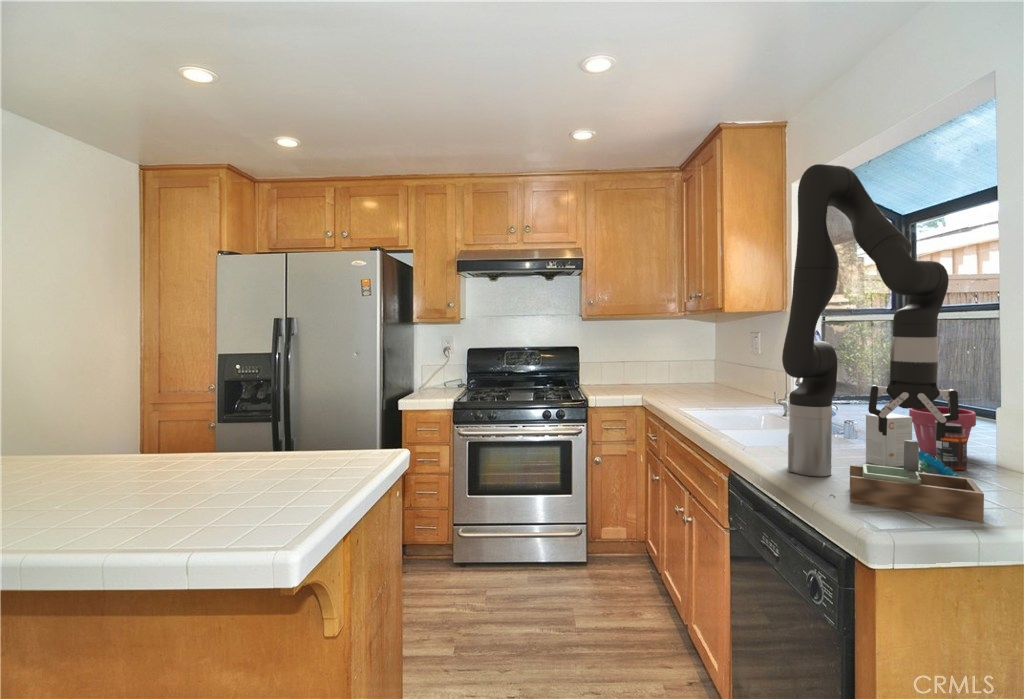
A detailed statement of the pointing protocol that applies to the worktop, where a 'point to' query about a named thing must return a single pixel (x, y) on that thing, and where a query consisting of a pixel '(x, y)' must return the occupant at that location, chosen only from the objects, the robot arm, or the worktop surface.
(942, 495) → the bay
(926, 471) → the gear
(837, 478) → the worktop surface
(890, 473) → the crate
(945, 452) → the supplement bottle
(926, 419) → the plant pot
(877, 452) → the small box
